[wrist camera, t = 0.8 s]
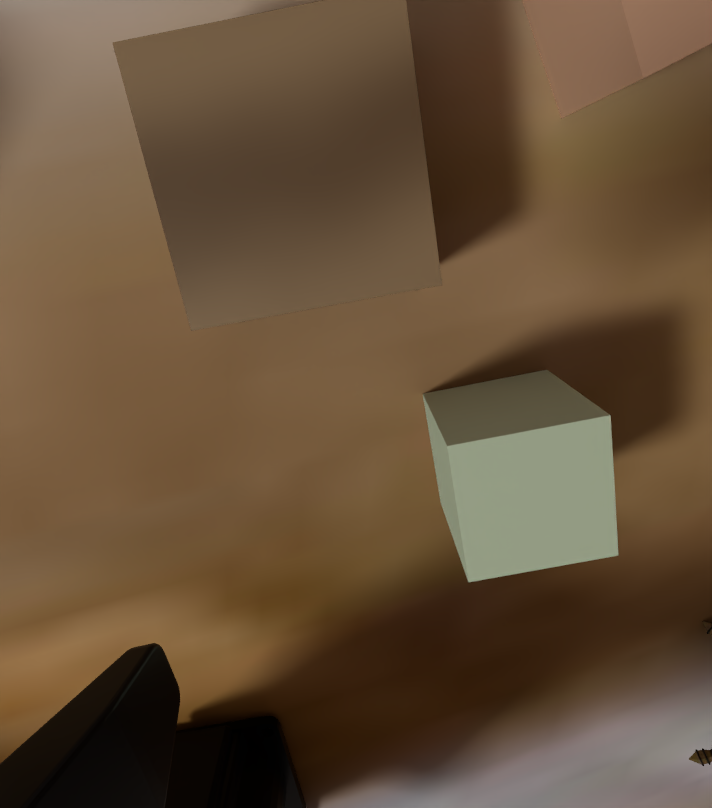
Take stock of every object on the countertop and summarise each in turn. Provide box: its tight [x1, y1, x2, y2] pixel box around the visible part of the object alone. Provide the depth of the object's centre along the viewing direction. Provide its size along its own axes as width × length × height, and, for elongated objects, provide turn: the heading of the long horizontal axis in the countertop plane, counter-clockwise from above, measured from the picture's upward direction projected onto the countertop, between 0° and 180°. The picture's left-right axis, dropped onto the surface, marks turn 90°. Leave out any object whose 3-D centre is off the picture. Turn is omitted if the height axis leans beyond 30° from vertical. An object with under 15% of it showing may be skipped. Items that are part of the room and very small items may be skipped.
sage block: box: [423, 370, 618, 582], centre depth 18 cm, size 4×4×5 cm
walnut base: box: [113, 0, 442, 331], centre depth 16 cm, size 7×7×4 cm
